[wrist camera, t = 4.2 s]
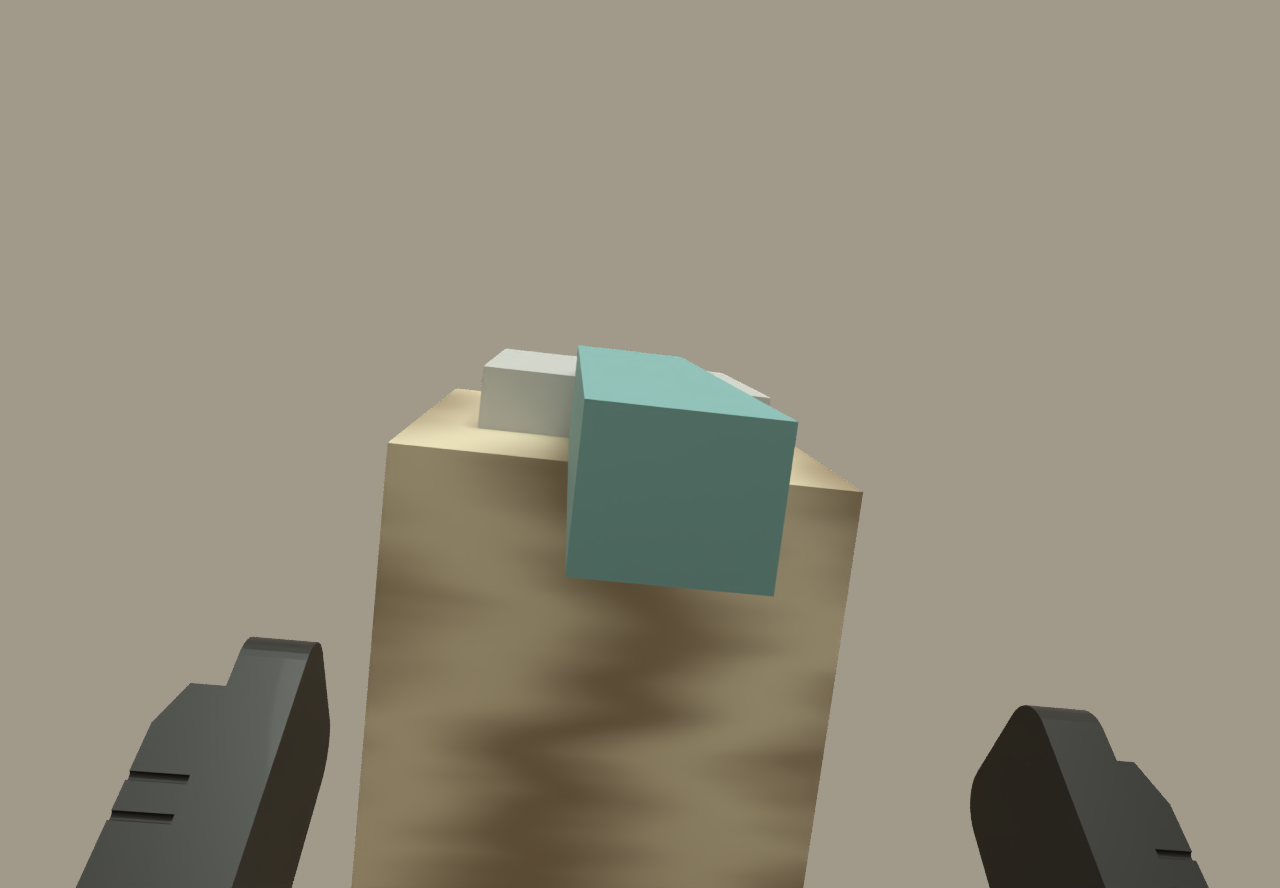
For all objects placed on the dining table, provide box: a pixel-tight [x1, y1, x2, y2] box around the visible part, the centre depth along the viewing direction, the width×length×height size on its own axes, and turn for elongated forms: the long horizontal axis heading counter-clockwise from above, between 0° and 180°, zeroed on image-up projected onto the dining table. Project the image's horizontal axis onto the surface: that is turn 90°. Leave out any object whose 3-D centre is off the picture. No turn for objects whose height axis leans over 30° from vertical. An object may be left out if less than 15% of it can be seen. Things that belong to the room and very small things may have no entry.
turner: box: [478, 346, 798, 597], centre depth 22 cm, size 7×20×2 cm, turn 4°
